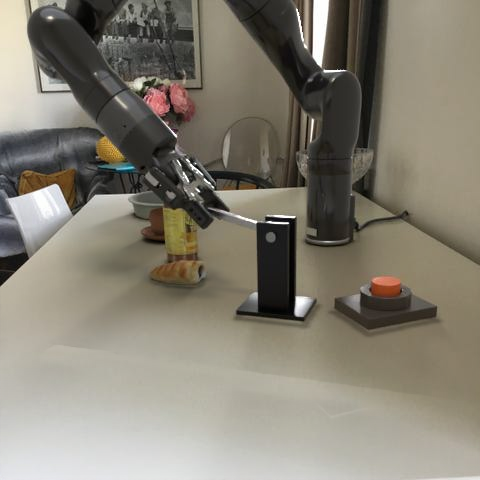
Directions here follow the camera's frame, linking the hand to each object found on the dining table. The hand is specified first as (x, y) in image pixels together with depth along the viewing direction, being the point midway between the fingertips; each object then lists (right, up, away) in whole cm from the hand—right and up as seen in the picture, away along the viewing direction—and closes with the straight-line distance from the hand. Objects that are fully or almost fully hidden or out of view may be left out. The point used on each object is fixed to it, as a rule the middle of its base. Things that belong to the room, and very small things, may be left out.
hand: (217, 219), depth 81 cm
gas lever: (+3, -1, -1) cm, 4 cm away
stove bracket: (+9, -13, +2) cm, 16 cm away
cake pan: (-14, +15, +73) cm, 75 cm away
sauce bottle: (-8, -3, +29) cm, 30 cm away
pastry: (-7, -8, +17) cm, 20 cm away
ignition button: (+24, -11, -2) cm, 26 cm away
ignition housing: (+24, -14, -1) cm, 28 cm away
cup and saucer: (-13, +4, +46) cm, 48 cm away
